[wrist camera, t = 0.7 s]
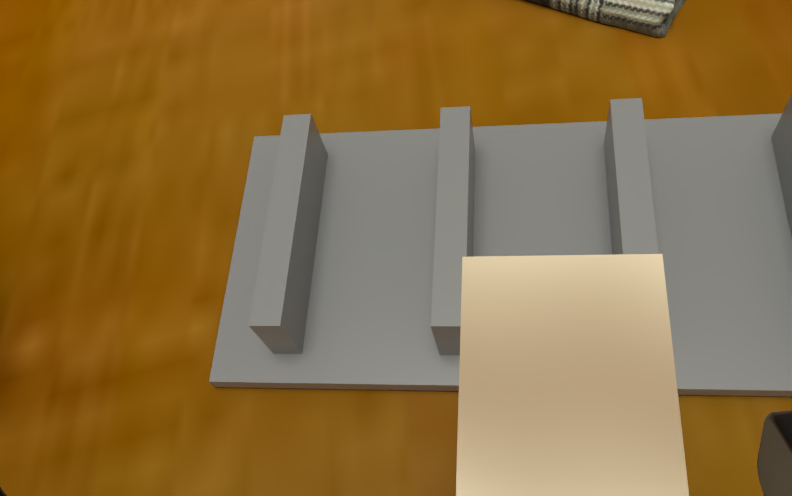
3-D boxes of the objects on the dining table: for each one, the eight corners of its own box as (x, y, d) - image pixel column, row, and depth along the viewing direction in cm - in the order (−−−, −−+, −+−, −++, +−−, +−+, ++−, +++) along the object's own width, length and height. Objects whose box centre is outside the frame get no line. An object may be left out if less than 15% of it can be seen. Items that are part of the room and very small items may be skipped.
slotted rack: (930, 399, 22) (987, 364, 19) (215, 387, 26) (177, 356, 23) (856, 120, 26) (893, 60, 24) (259, 145, 30) (232, 95, 27)
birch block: (606, 615, 21) (698, 580, 9) (495, 608, 21) (454, 566, 10) (596, 450, 23) (662, 253, 11) (496, 447, 23) (462, 256, 12)
